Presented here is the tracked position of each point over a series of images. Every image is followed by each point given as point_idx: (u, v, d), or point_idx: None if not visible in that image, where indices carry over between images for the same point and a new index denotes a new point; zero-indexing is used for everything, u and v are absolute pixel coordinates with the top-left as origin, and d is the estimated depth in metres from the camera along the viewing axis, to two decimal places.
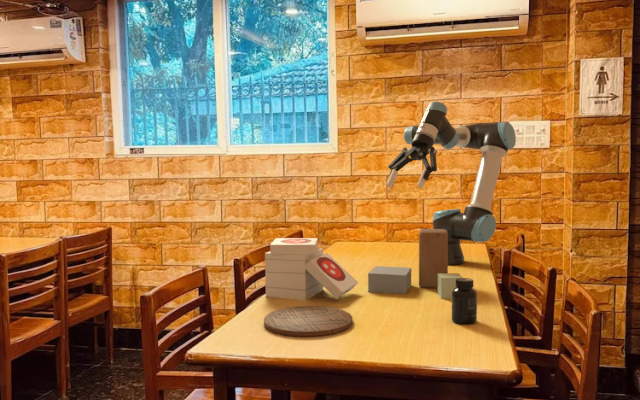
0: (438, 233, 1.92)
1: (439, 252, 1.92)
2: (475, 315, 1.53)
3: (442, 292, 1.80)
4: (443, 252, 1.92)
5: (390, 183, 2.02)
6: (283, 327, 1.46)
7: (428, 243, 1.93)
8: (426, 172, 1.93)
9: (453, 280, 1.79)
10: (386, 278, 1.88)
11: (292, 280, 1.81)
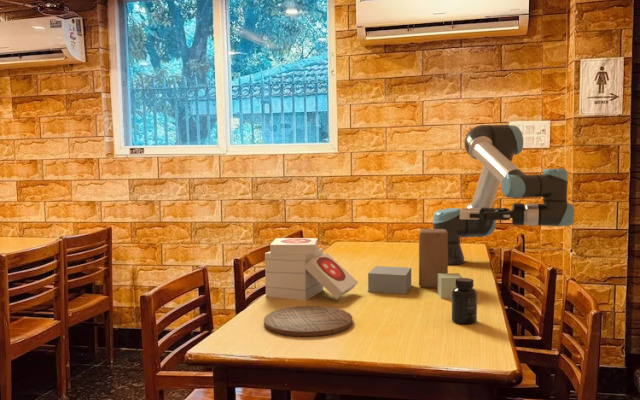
0: (438, 233, 1.92)
1: (439, 252, 1.92)
2: (475, 315, 1.53)
3: (442, 292, 1.80)
4: (443, 252, 1.92)
5: None
6: (283, 327, 1.46)
7: (428, 243, 1.93)
8: None
9: (453, 280, 1.79)
10: (386, 278, 1.88)
11: (292, 280, 1.81)
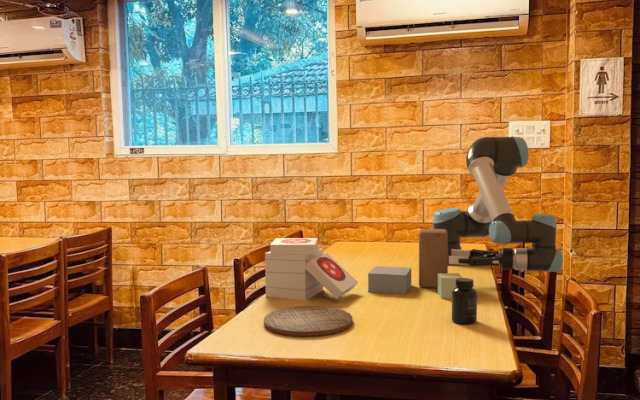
0: (438, 233, 1.92)
1: (439, 252, 1.92)
2: (475, 315, 1.53)
3: (442, 292, 1.80)
4: (443, 252, 1.92)
5: None
6: (283, 327, 1.46)
7: (428, 243, 1.93)
8: None
9: (453, 280, 1.79)
10: (386, 278, 1.88)
11: (292, 280, 1.81)
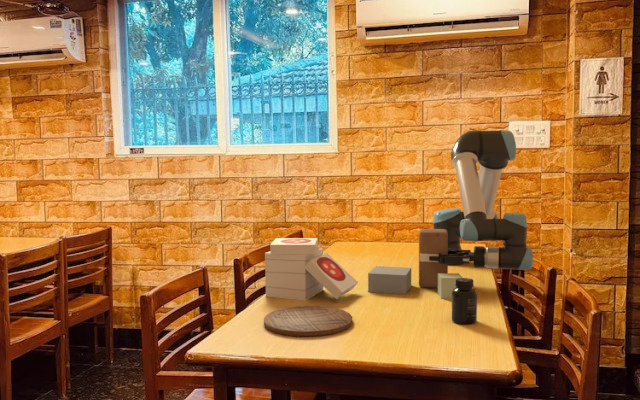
0: (438, 233, 1.92)
1: (439, 252, 1.92)
2: (475, 315, 1.53)
3: (442, 292, 1.80)
4: (443, 252, 1.92)
5: None
6: (283, 327, 1.46)
7: (428, 242, 1.93)
8: None
9: (453, 280, 1.79)
10: (386, 278, 1.88)
11: (292, 280, 1.81)
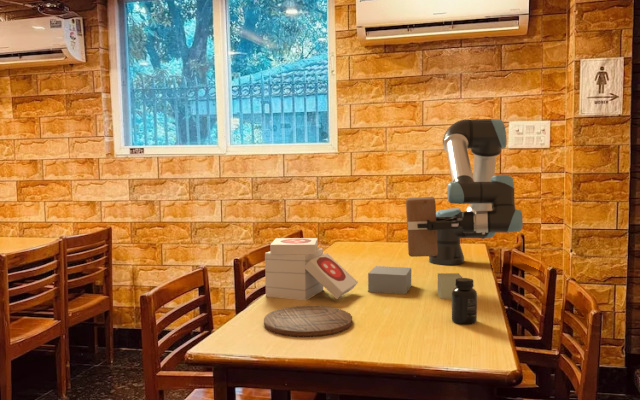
0: (425, 200, 1.88)
1: (427, 219, 1.88)
2: (475, 315, 1.53)
3: (442, 292, 1.80)
4: (432, 219, 1.88)
5: None
6: (283, 327, 1.46)
7: (415, 210, 1.89)
8: None
9: (453, 280, 1.79)
10: (386, 278, 1.88)
11: (292, 280, 1.81)
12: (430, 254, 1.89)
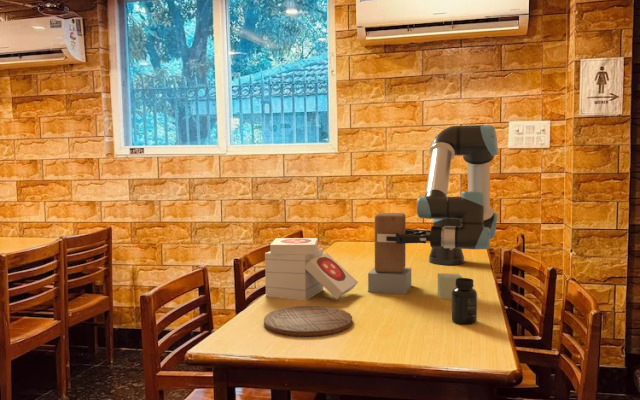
0: (394, 216, 1.88)
1: None
2: (475, 315, 1.53)
3: (442, 292, 1.80)
4: None
5: None
6: (283, 327, 1.46)
7: (383, 226, 1.88)
8: None
9: (453, 280, 1.79)
10: (386, 278, 1.88)
11: (292, 280, 1.81)
12: (396, 271, 1.89)
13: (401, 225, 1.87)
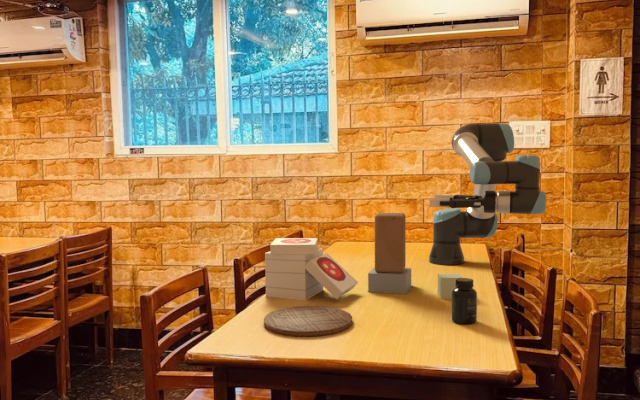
0: (394, 216, 1.88)
1: (395, 236, 1.88)
2: (475, 315, 1.53)
3: (442, 292, 1.80)
4: (399, 236, 1.87)
5: None
6: (283, 327, 1.46)
7: (383, 226, 1.88)
8: None
9: (453, 280, 1.79)
10: (386, 278, 1.88)
11: (292, 280, 1.81)
12: (396, 271, 1.89)
13: (401, 225, 1.87)
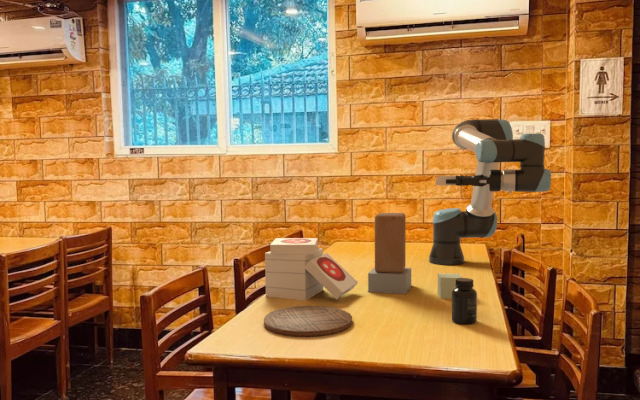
0: (394, 216, 1.88)
1: (395, 236, 1.88)
2: (475, 315, 1.53)
3: (442, 292, 1.80)
4: (399, 236, 1.87)
5: None
6: (283, 327, 1.46)
7: (383, 226, 1.88)
8: None
9: (453, 280, 1.79)
10: (386, 278, 1.88)
11: (292, 280, 1.81)
12: (396, 271, 1.89)
13: (401, 225, 1.87)
